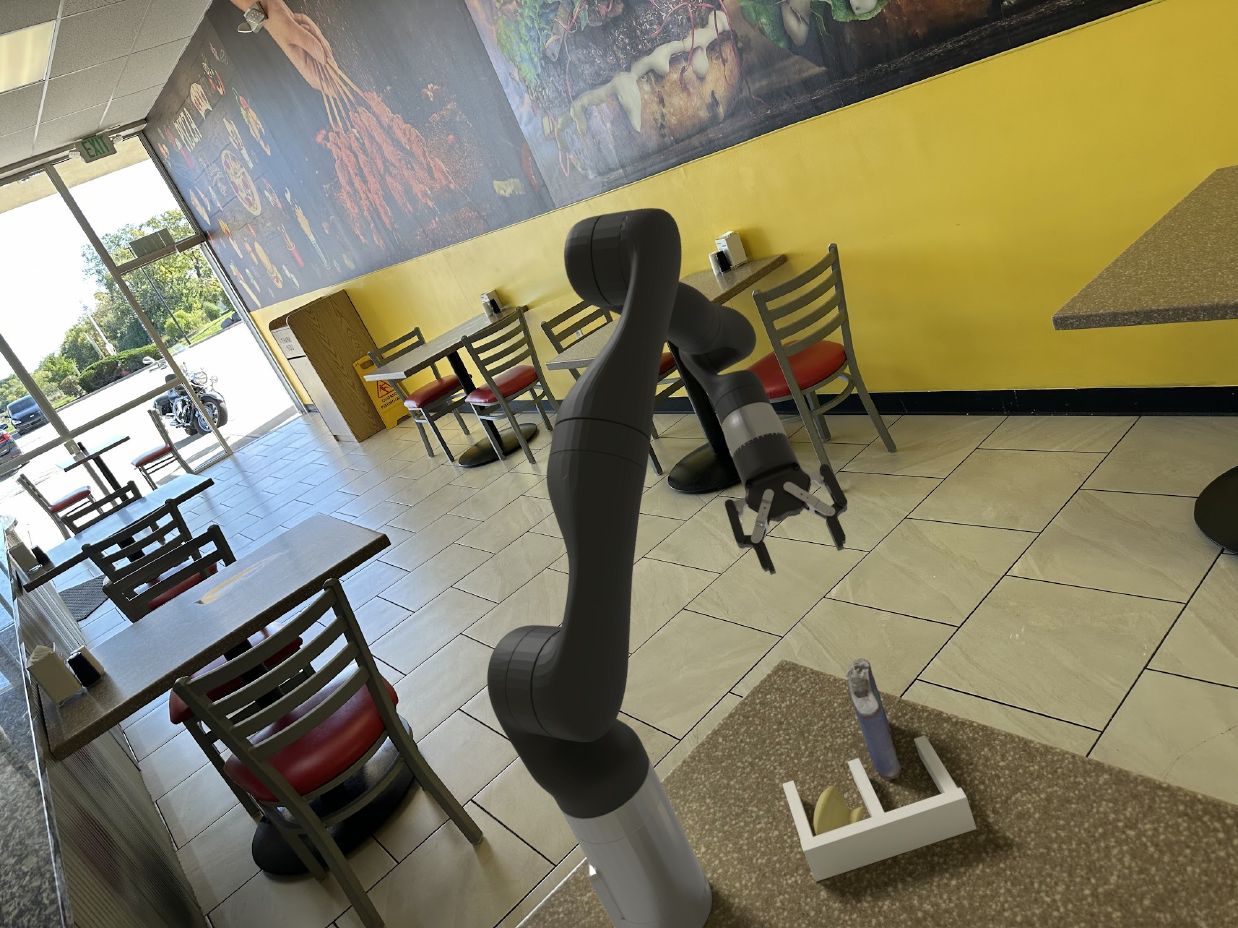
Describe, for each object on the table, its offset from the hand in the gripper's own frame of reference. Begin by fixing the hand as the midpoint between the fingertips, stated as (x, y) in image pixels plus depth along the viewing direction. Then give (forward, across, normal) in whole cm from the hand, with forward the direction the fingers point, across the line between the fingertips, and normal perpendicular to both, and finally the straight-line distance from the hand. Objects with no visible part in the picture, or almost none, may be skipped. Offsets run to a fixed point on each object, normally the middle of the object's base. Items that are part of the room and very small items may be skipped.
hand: (806, 560), depth 95 cm
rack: (+28, -4, -6) cm, 29 cm away
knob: (+29, -7, -6) cm, 30 cm away
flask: (+22, 0, 0) cm, 22 cm away
